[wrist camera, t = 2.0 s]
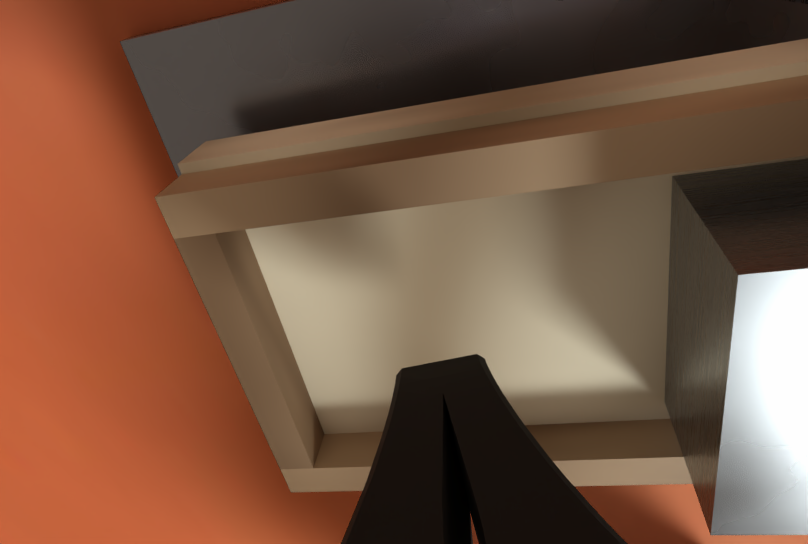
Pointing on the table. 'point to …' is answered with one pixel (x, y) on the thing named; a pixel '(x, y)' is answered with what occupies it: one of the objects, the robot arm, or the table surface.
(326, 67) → the beam stand
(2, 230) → the table surface
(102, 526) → the table surface
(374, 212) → the beam
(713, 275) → the block
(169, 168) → the table surface
